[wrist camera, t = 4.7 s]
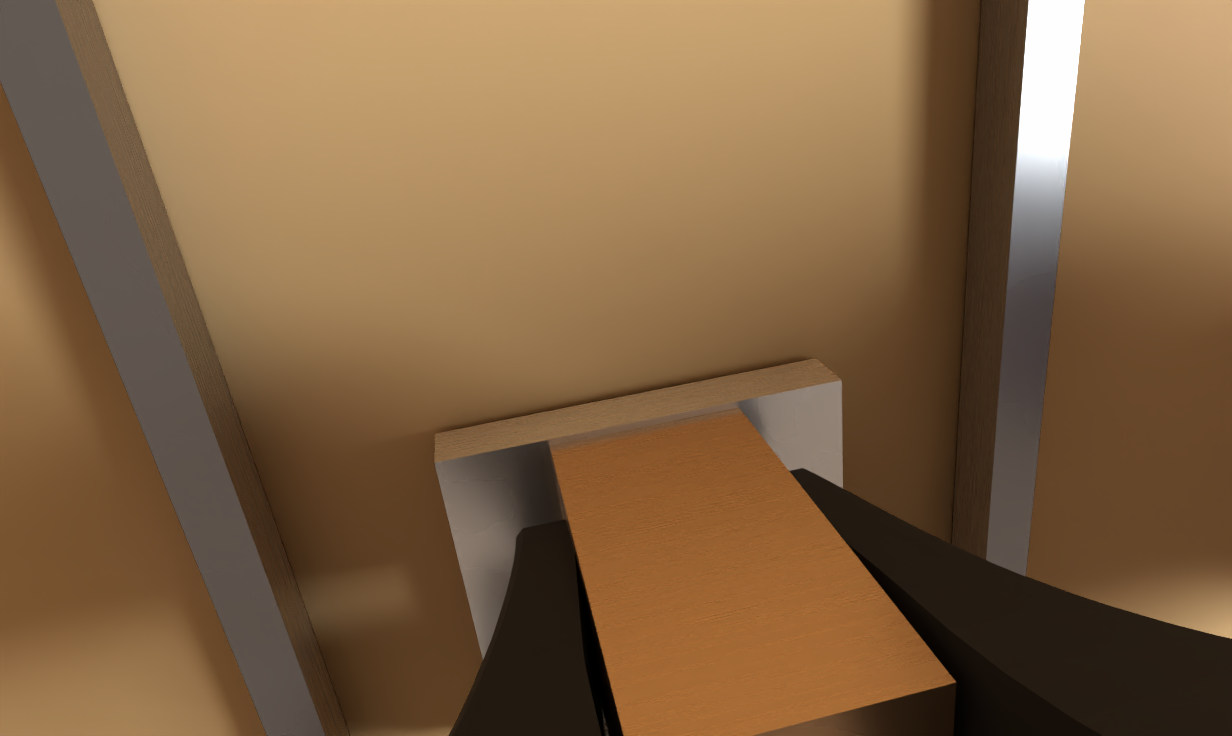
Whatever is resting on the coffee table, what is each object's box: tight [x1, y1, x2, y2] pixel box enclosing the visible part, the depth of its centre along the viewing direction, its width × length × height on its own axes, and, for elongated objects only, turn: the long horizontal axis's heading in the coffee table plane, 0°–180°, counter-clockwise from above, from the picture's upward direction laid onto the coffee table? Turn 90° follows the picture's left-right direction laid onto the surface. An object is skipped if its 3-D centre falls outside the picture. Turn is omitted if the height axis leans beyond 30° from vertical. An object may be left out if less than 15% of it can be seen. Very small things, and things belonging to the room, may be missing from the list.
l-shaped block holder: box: [434, 358, 956, 736], centre depth 11 cm, size 6×6×6 cm
